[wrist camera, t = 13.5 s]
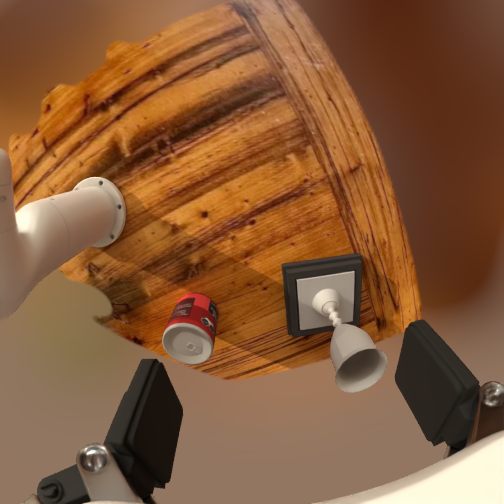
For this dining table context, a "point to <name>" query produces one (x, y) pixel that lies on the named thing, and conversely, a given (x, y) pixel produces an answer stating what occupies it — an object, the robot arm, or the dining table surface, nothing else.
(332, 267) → the scale
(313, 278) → the pan
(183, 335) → the canned food
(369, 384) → the chalice
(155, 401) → the robot arm
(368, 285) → the dining table surface
